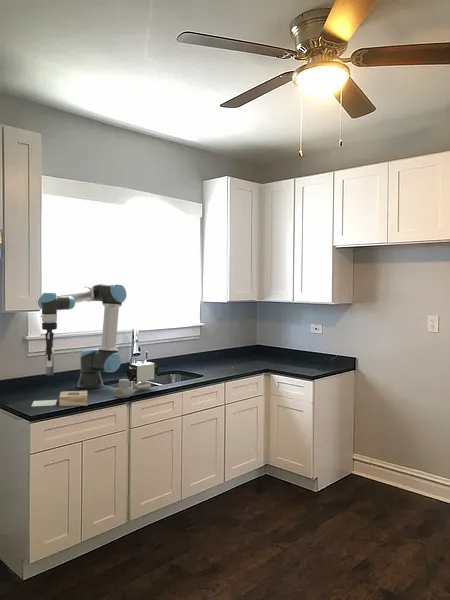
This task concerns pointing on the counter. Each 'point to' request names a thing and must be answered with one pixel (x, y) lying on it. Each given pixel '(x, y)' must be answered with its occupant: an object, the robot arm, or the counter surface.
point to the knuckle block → (73, 398)
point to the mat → (44, 403)
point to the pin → (51, 369)
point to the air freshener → (123, 389)
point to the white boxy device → (142, 374)
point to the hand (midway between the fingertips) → (49, 365)
